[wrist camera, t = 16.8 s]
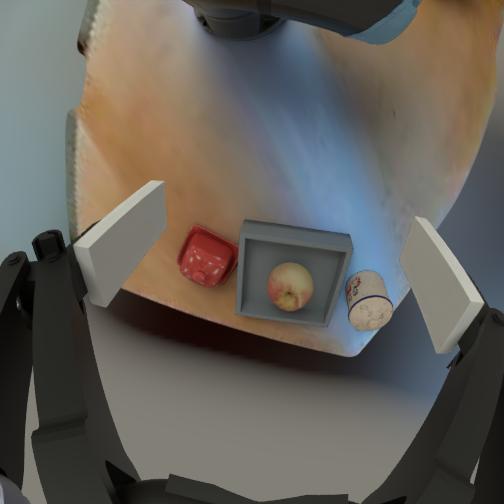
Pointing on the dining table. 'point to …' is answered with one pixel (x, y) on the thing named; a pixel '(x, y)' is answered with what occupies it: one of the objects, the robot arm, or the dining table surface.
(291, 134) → the dining table surface
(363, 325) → the teacup with lid
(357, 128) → the dining table surface
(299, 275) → the apple
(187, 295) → the dining table surface
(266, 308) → the bin
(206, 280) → the butter dish
